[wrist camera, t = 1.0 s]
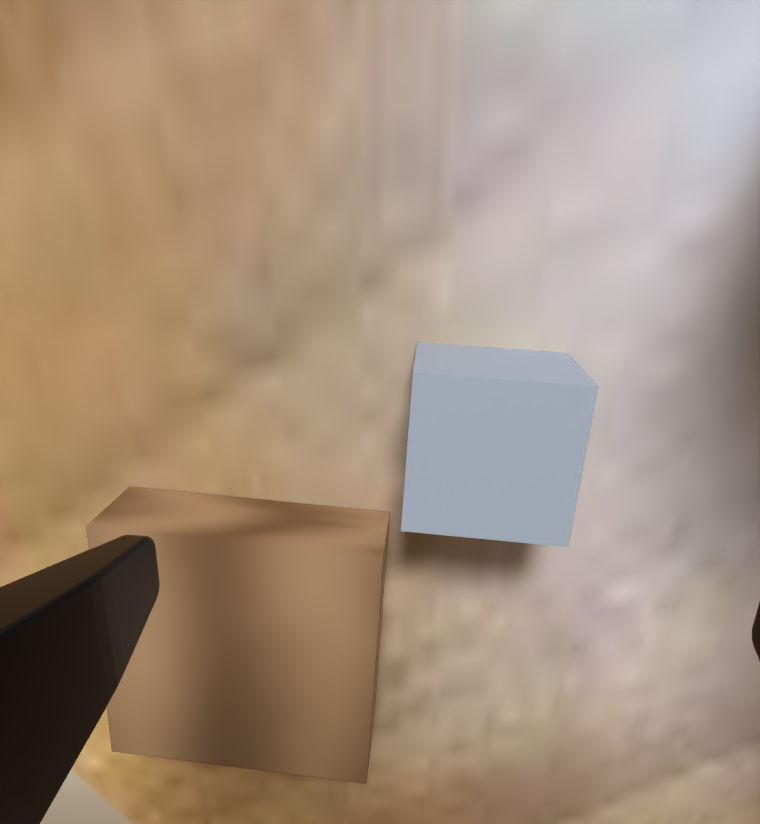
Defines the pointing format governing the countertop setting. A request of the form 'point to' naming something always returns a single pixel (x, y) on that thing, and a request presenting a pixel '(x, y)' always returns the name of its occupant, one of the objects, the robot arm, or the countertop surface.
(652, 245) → the countertop surface
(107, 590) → the robot arm
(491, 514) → the blue-grey squarish block
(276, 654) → the base block
